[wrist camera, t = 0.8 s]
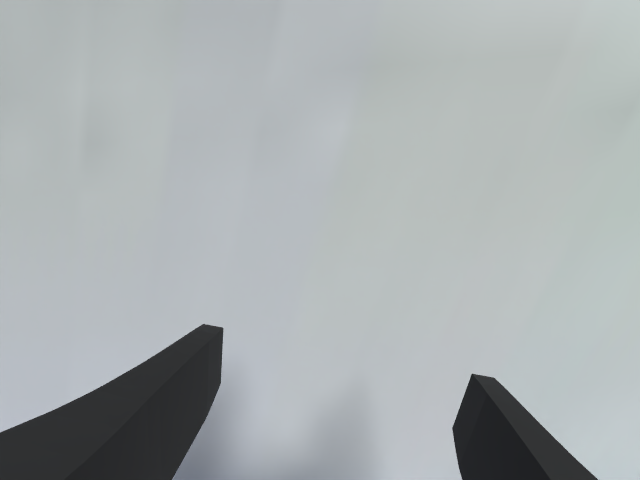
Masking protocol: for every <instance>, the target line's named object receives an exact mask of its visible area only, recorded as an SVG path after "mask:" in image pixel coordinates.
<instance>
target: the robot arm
mask: <svg viewBox="0 0 640 480" xmlns="http://www.w3.org/2000/svg"><path fill="white" fill-rule="evenodd" d="M222 344H223V328H222V327H216V326H211V325H205V324H203V325H201V326H199V327H198V328H196V329H195V330H193V331H192V332H190V333H189V334H187V335H185V336H184V337H182V338H181V339H179V340H178V341H176V342H175V343H173V344H172V345H170V346H169V347H167V348H166V349H164V350H162V351H161V352H159V353H158V354H156V355H155V356H153V357H151V358H150V359H148V360H147V361H145V362H143V363H142V364H140V365H138V366H137V367H135V368H133V369H131V370H130V371H128V372H126V373H124V374H123V375H121V376H119V377H117V378H116V379H114V380H112V381H110V382H109V383H107V384H105V385H103V386H101V387H100V388H98V389H96V390H94V391H92V392H90V393H88V394H86V395H84V396H82V397H80V398H78V399H76V400H74V401H72V402H70V403H68V404H65V405H63V406H61V407H59V408H57V409H55V410H53V411H50V412H48V413H46V414H44V415H41V416H39V417H36V418H34V419H32V420H29V421H27V422H25V423H22V424H20V425H17V426H15V427H13V428H10V429H8V430H6V431H3V432H1V433H0V480H172V478H173V477H174V475H175V473H176V471H177V469H178V468H179V466H180V464H181V462H182V461H183V459H184V457H185V455H186V453H187V452H188V450H189V448H190V446H191V444H192V443H193V441H194V439H195V437H196V435H197V434H198V432H199V430H200V428H201V426H202V425H203V423H204V421H205V419H206V417H207V415H208V413H209V410H210V408H211V406H212V403H213V401H214V398H215V396H216V393H217V391H218V389H219V386H220V384H221V365H222ZM452 429H453V435H454V442H455V448H456V454H457V459H458V465H459V469H460V473H461V477H462V480H598V479H597V478H596V477H595V476H593V475H592V474H591V473H590V472H589V471H588V470H587V469H586V468H585V467H584V466H583V465H582V464H580V463H579V462H578V461H577V460H576V459H575V458H574V457H573V456H572V455H571V454H570V453H569V452H568V451H567V450H566V449H565V448H564V447H563V446H562V445H561V444H560V443H559V442H558V441H557V440H556V439H555V438H554V437H553V436H552V435H551V434H550V433H549V432H548V431H547V430H546V429H545V428H544V427H543V426H542V425H541V424H540V423H539V422H538V421H537V420H536V419H535V418H534V417H533V416H532V415H531V414H530V413H529V412H528V411H527V410H526V409H525V408H524V407H523V406H522V405H521V404H520V403H519V402H518V401H517V400H516V399H515V398H514V397H513V396H512V395H511V394H510V393H509V392H508V391H507V390H506V389H505V388H504V387H503V386H502V385H501V384H500V383H499V382H498V381H497V380H496V379H495V378H492V377H487V376H481V375H476V374H472V375H471V378H470V381H469V383H468V386H467V389H466V392H465V395H464V397H463V400H462V403H461V406H460V409H459V411H458V414H457V417H456V420H455V423H454V425H453V428H452Z"/></svg>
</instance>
